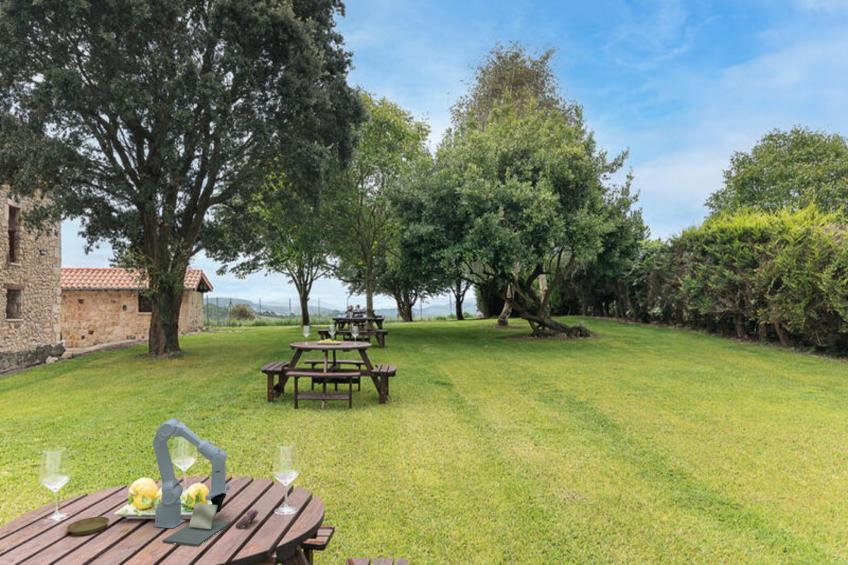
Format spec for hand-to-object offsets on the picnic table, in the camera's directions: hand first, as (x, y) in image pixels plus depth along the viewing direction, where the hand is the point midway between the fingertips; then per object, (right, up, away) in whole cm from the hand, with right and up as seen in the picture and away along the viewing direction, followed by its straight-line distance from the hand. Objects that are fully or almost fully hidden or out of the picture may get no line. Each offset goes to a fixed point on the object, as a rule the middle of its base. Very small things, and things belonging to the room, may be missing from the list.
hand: (217, 511), depth 217 cm
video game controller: (+15, -4, -4) cm, 16 cm away
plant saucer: (-50, -4, -10) cm, 51 cm away
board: (-3, -3, -12) cm, 13 cm away
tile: (-2, +2, -9) cm, 9 cm away
